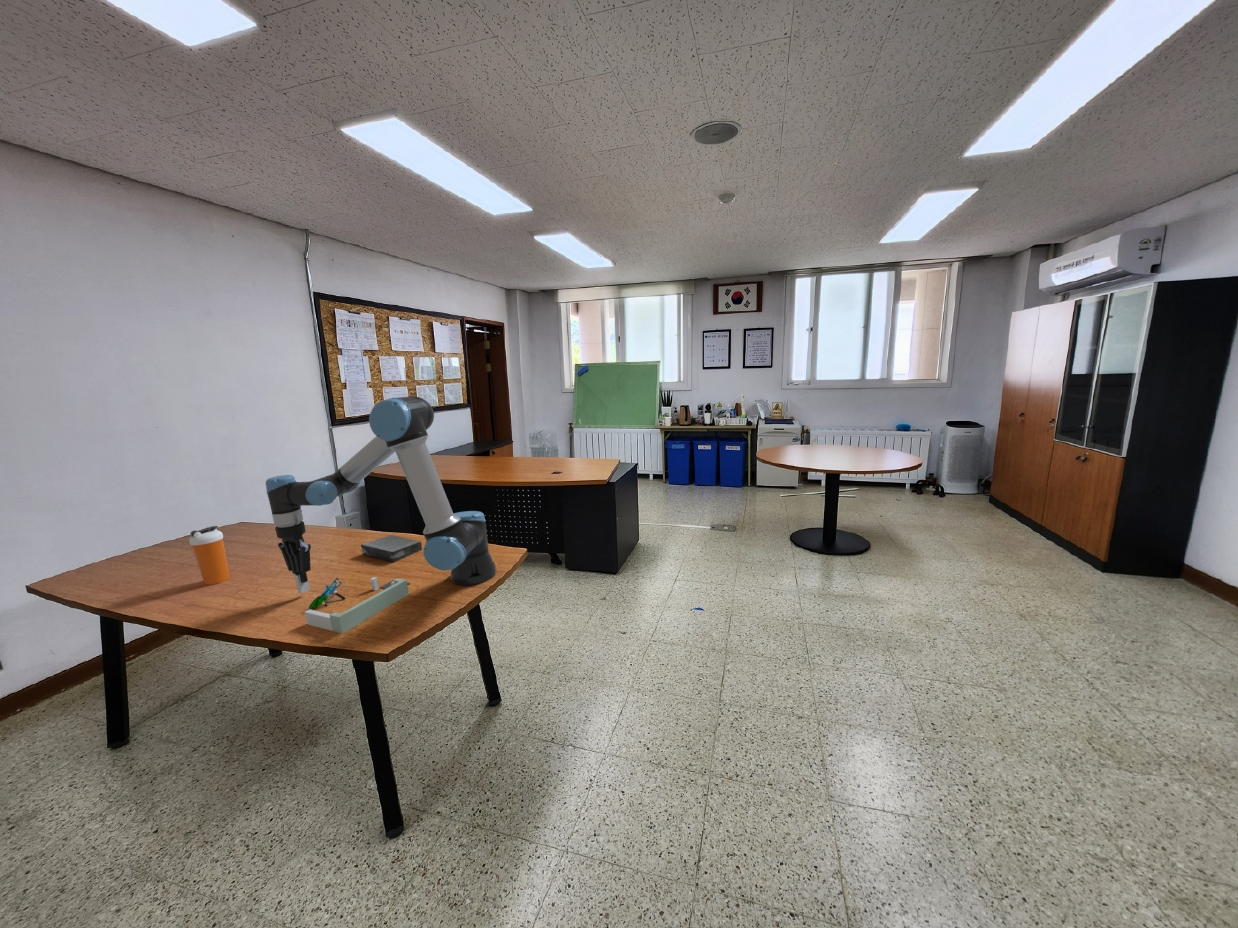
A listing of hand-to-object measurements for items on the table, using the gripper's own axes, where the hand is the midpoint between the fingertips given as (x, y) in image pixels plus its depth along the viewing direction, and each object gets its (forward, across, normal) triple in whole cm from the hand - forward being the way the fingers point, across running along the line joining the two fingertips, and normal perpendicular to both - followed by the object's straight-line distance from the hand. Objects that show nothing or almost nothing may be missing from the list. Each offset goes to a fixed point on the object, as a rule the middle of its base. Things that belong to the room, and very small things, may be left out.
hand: (304, 590), depth 145 cm
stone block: (+3, +2, -37) cm, 37 cm away
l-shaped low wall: (+2, -24, 0) cm, 24 cm away
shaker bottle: (+2, +46, +2) cm, 46 cm away
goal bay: (+2, -32, 0) cm, 32 cm away
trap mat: (+2, -24, -14) cm, 28 cm away
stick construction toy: (+2, -13, 0) cm, 13 cm away
